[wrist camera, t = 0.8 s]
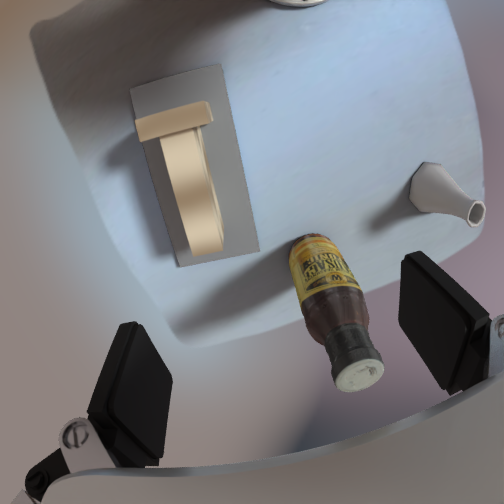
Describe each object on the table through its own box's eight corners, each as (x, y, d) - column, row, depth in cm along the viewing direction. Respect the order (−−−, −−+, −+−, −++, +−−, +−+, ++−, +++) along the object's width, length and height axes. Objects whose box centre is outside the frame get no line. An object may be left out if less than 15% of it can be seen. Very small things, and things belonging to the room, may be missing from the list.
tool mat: (131, 89, 27) (129, 89, 26) (221, 64, 27) (220, 63, 26) (180, 265, 37) (180, 267, 36) (259, 249, 37) (260, 251, 36)
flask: (400, 202, 35) (444, 233, 26) (420, 152, 32) (471, 171, 23) (435, 219, 36) (478, 251, 28) (455, 174, 33) (503, 197, 25)
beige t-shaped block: (154, 117, 28) (134, 120, 22) (209, 102, 28) (203, 100, 22) (186, 235, 34) (177, 264, 28) (236, 224, 34) (238, 252, 28)
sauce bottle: (336, 229, 36) (416, 339, 19) (331, 273, 39) (392, 391, 21) (284, 231, 36) (333, 354, 18) (283, 276, 39) (319, 406, 21)
